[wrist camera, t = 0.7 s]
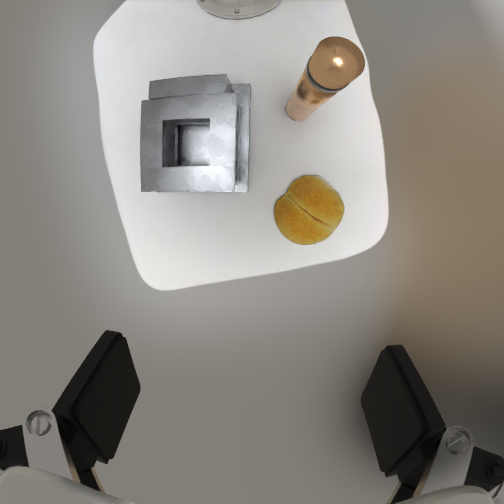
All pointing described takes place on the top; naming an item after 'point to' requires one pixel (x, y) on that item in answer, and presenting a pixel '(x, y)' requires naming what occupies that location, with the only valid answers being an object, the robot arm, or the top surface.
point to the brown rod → (325, 75)
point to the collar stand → (195, 135)
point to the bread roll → (309, 210)
